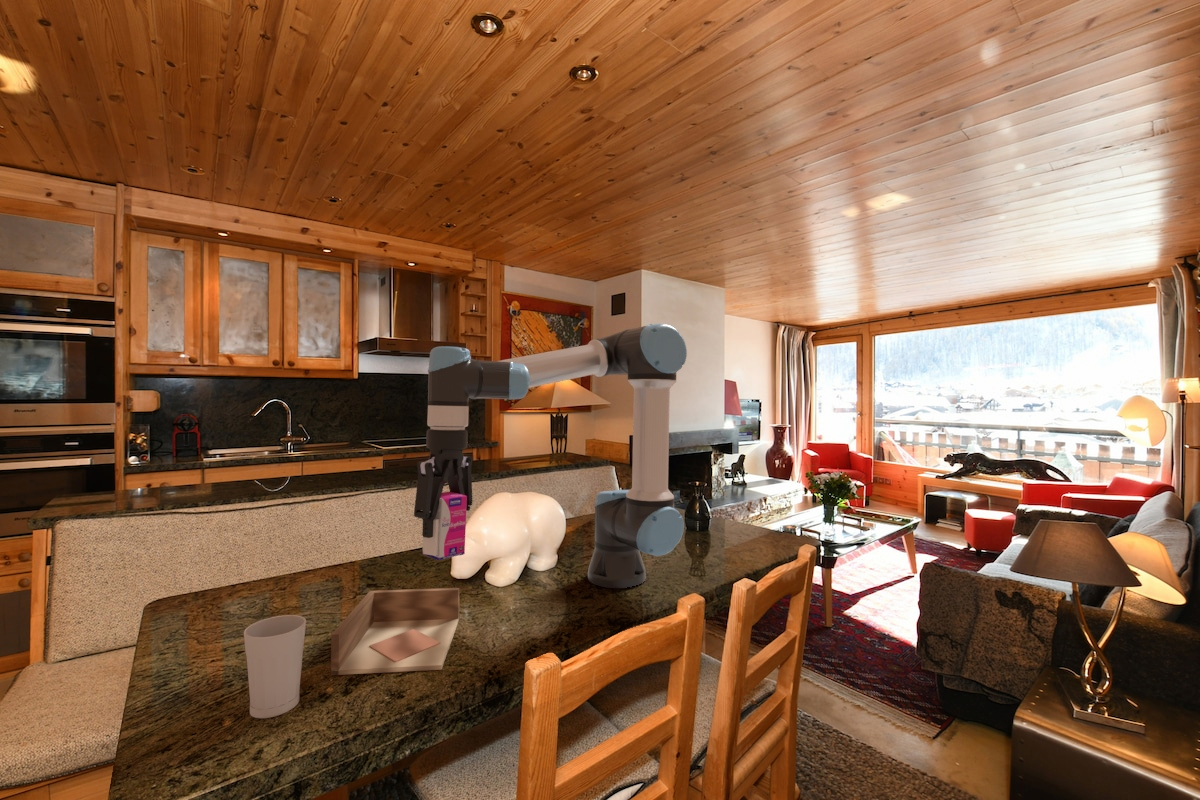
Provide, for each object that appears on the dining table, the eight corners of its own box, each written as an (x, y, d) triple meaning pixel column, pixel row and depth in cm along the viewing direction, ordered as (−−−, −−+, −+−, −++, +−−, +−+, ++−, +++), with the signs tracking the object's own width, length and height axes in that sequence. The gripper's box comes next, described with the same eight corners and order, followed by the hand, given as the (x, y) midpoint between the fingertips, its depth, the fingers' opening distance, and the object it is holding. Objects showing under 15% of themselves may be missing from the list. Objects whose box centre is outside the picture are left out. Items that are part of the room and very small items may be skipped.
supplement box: (439, 561, 94) (441, 498, 94) (421, 554, 97) (423, 494, 97) (466, 554, 98) (467, 494, 98) (447, 548, 102) (449, 490, 102)
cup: (228, 718, 74) (229, 635, 74) (272, 688, 82) (273, 613, 82) (277, 724, 73) (278, 640, 73) (317, 693, 81) (318, 616, 81)
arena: (459, 620, 108) (459, 587, 108) (441, 669, 88) (441, 630, 88) (369, 623, 106) (369, 590, 106) (330, 675, 86) (331, 634, 86)
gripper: (462, 426, 109) (459, 535, 108) (393, 429, 90) (389, 560, 90) (493, 427, 106) (489, 539, 106) (428, 430, 87) (424, 566, 87)
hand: (443, 548), depth 98 cm, fingers closed on supplement box, 7 cm apart
